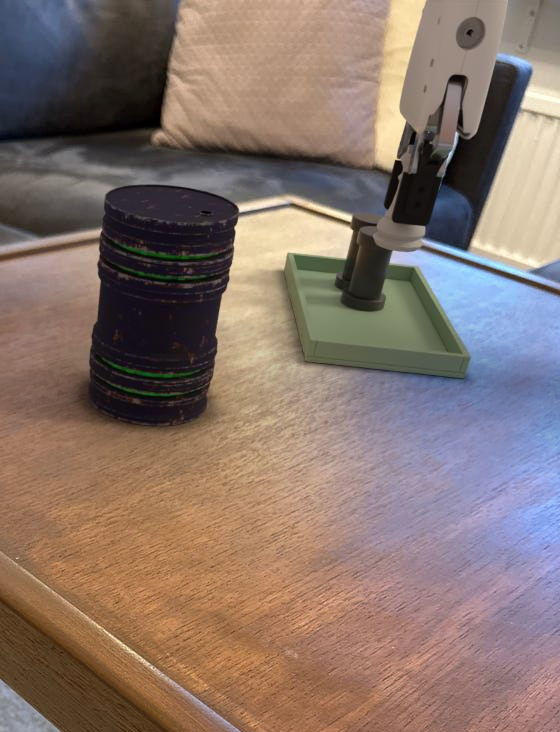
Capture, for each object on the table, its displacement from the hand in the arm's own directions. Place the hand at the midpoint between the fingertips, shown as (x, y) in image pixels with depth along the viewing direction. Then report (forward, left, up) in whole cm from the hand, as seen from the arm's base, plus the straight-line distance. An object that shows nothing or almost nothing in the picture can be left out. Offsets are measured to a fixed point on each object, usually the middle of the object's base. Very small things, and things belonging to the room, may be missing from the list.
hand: (405, 214), depth 87 cm
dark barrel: (+21, +19, -11) cm, 31 cm away
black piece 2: (0, -8, -11) cm, 13 cm away
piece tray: (0, -5, -11) cm, 12 cm away
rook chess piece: (0, 0, -3) cm, 3 cm away
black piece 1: (0, -13, -11) cm, 17 cm away
